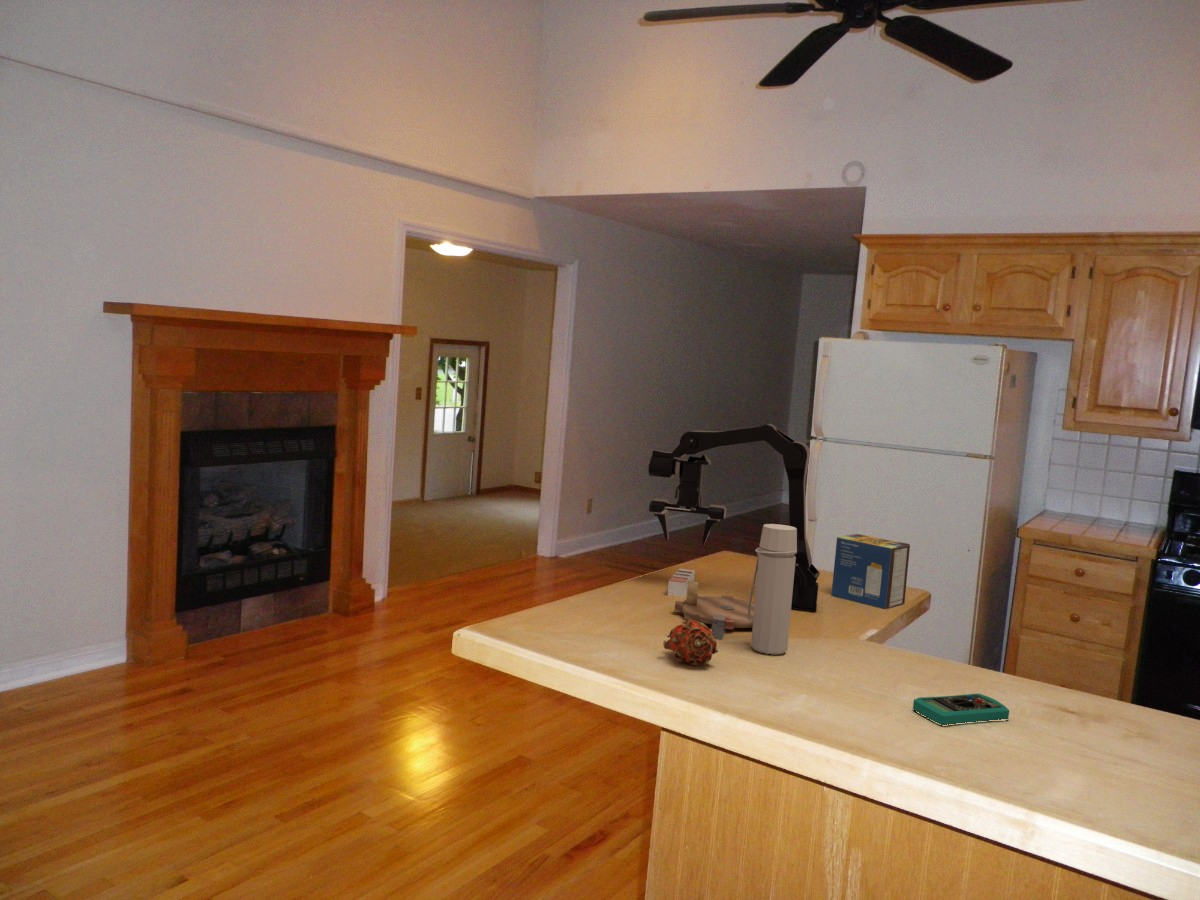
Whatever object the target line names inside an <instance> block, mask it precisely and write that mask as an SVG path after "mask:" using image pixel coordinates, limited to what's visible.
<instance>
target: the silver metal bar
mask: <svg viewBox="0 0 1200 900" xmlns="http://www.w3.org/2000/svg"><path fill="white" fill-rule="evenodd" d="M695 572H696V570H695V569H688V568H678V569H677V571H676V572H675V573H674V574H673V575H672V576H671V577H670V578H669V580H668V585H667V586H668V587H667V596H668V595H674V596H681V597H684V596H685V595H686V596H687V594H686V593H687V587H688V581H695ZM686 596H685V597H686ZM685 597H684V598H685Z"/></svg>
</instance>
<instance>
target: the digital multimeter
mask: <svg viewBox="0 0 1200 900" xmlns="http://www.w3.org/2000/svg"><path fill="white" fill-rule="evenodd" d="M912 703H913V705H912V710H913V709H914V710H915V711H917V712H919V713H920V714H922V715H924V716H926V717H927V718H929V719H931V720H933V721H935V722H937V723H939V724H941V725H947V724H948V725H949V724H956V723H965V722H966V723H967V722H976V721H977V722H978V721H989V720H998V719H999V720H1001V719H1008V720H1009V715H1010V709H1009V708H1008V707H1006V706H1005V705H1004V704H1002V703H1001V702H1000V701H998V700H996V699H995V698H992V697H990V696H988V695H986V694H985V695H984V694H982V693H970V694H969V693H968V694H958V695H957V694H956V695H944V696H942V695H941V696H925V697H923V696H921V697H918V698H914V699H913V702H912ZM915 711H914V712H915Z"/></svg>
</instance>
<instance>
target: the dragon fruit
mask: <svg viewBox="0 0 1200 900" xmlns="http://www.w3.org/2000/svg"><path fill="white" fill-rule="evenodd" d="M711 631H712V630H711V629H710V628H709V627H708V625H706V623H703V622H700V621H693V620H687V622H686V623H685V624H677V625H675V626H674V627H673V628H672V629H671V630H670V632H669V633H668V634H667V636H666V638H669V639H668V640H667V641H666V640H663V648H664V649H665V650H670V651H672V652H673V653H675V654H674V659H676V660H677V661H678V662H679V663H684V662H686V663H688V664H689V665H692V666H695V665H697V666H696V667H698V665H699V666H700V665H701V664H702V663H709V662H710V661H712V656H713V655H715V654H716V653H718V652H719V650H718V647H717V639H715V638H714V637H713V633H712V632H711ZM680 661H682V662H680Z"/></svg>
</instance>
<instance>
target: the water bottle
mask: <svg viewBox="0 0 1200 900" xmlns="http://www.w3.org/2000/svg"><path fill="white" fill-rule="evenodd" d="M755 552H756V554H757V555H756V556H757V558H756V563H755V569H754V574H753V580H752V584H751V589H750V594H749V599H748V601H749V604H748V621H751V622H752V621H753V627H752V630H751V631H752V632H751V639H750V640H751V641H750V643H751V644H750V645H751V647H752V648H753V650H754V651H756V652H758V653H760V654H763V653H764V655H768V654H771V656H778V654H779V655H782V654H785V652H787V650H788V647H789V646H788V645H789V635H790V623H791V614H792V613H791V612H792V609H791V604H792V594H793V583H794V572H795V561H796V557H795V556H794V554H796V553H797V529H796V528H795V527H792V526H789V525H785V524H778V523H777V524H776V523H765V524H763V527H762V529H761V535H760V542H759V547H756V549H755ZM754 589H755V595H754ZM753 596H754V597H755V598H754V602H755V606H754V618H753V620H751V617H750V607H751V602H753V601H752V600H753Z"/></svg>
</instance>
